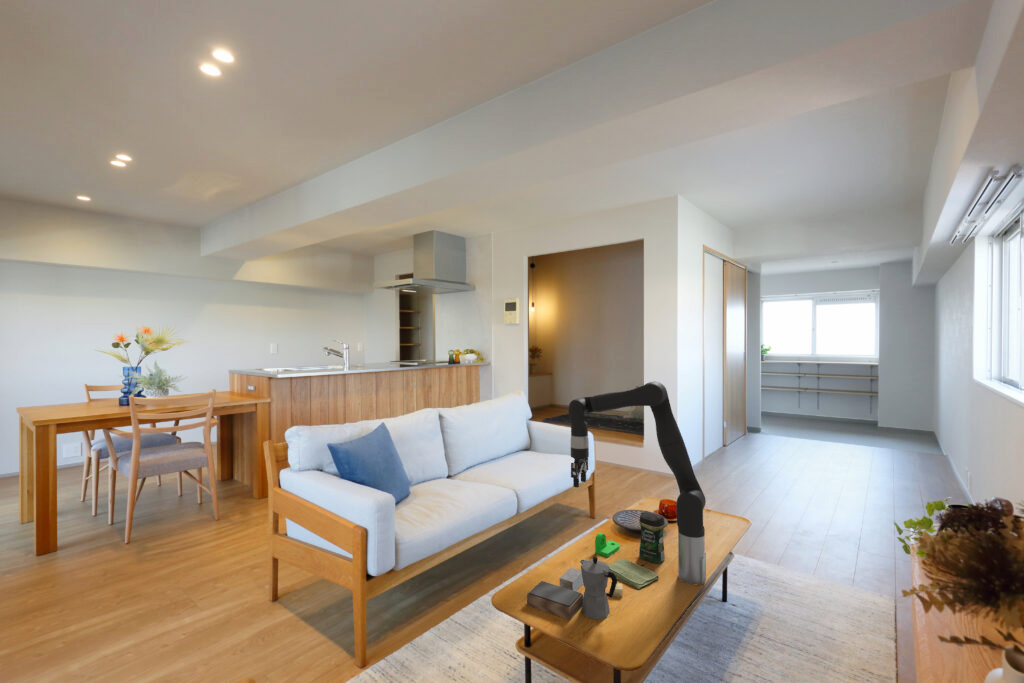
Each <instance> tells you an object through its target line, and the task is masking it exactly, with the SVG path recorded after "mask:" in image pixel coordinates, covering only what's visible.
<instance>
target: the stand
mask: <svg viewBox="0 0 1024 683" xmlns="http://www.w3.org/2000/svg"><path fill="white" fill-rule="evenodd" d="M583 596H584V593H582V592H579V591H573V590H570V589H566V588H563V587H560V585H555V584H553V583H550V582H546V581H543V580H541V581H540V582H538V583H537V584H536V585H535V586H534V587H533V588H531V589H530V591H529V592H527V594H526V605H527V606H529V607H531V608H534V609H537V610H540V611H543V612H545V613H549V614H551V613H552V614H551V615H554V616H557V617H559V616H560V618H562V617H563V618H562V619H566V620H569V621H571V620H572V619H573V618H574V617H575V615H576V614H577V613H578V611H580V610H581V608H582V602H583Z"/></svg>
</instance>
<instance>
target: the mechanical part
mask: <svg viewBox="0 0 1024 683" xmlns="http://www.w3.org/2000/svg"><path fill="white" fill-rule="evenodd" d="M594 544H595V545H594V548H595V549H594V550H595V551H594V553H595V554H597V555H600V556H602V557H606V558H609V557H611V556H612V555H613V554H615V553H617V552H618V551H619V550H620V549H621V546H620V543H619V542H616V541H614V540H611V539H610V540H608V541H607V536H606V534H604V533H602V532H598V533H597V534H596V536H595V541H594Z"/></svg>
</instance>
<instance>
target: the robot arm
mask: <svg viewBox="0 0 1024 683" xmlns="http://www.w3.org/2000/svg"><path fill="white" fill-rule="evenodd" d="M670 402H671V401H670V399H669V395H668V391H667V388H666V387H665V385H664V384H663V383H661V382H660V381H654V380H653V381H650V382H649V381H648V382H647V383H645V384H644V385H642V386H639V387H636V388H633V389H629V390H625V391H615V392H614V391H613V392H608V393H607V392H606V393H600V394H596V395H593V396H583V397H578V398H575V399H572V400H571V401H570V402H569V404H568V407H567V408H568V410H567V411H568V417H569V423H570V457H571V458H572V459H573V460H574V462H571V463H570V478H572V479H573V482H572V483H573V484H572V485H573V487H574V488H578V489H579V487H580V482H582V483H586V482H587V473H588V471H589V455H590V454H589V453H590V452H589V449H590V448H589V445H590V444H589V435H588V433H589V427H588V426H589V425H588V422H587V421H586V420H585V415H586V414H591V413H602V412H607V411H608V412H609V411H612V410H613V411H614V410H617V409H621V408H628V407H650V409H651V412H652V414H653V417H654V423H655V432H656V439H657V442H658V446H659V450H660V451H661V452H660V453H661V455H662V457H663V460H664V461H665V463H666V465H667V467H669V469H670V470H671V472H672V474H673V475H674V477H675V479H676V483H677V486H678V491H679V495H678V497H677V499H676V507H675V508H676V526H677V531H678V532H677V533H678V534H677V536H678V537H677V539H678V540H677V542H678V543H677V544H678V546H677V548H678V550H677V551H678V552H677V553H678V554H677V556H678V557H677V558H678V559H677V560H678V561H677V562H678V563H677V564H678V568H677V569H678V570H677V572H678V578H679V580H680V581H682V582H684V583H686V584H689V585H694V584H701V585H700V586H703V585H704V584H705V582H706V579H707V554H706V552H705V548H706V547H705V546H706V545H705V544H706V540H705V539H706V537H705V534H706V532H705V530H706V529H705V526H704V508H705V507H706V503H707V502H706V501H707V500H706V496H705V494H704V491H703V490H702V487H701V486H700V483H699V481H698V479H697V476H696V475H695V472H694V468H693V465H692V462H691V458H690V455H689V453H688V449H687V447H686V443H685V441H684V438H683V436H682V433H681V431H680V428H679V426H678V423H677V421H676V418H675V416H674V414H673V410H672V406H671V403H670Z"/></svg>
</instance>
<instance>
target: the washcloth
mask: <svg viewBox="0 0 1024 683" xmlns="http://www.w3.org/2000/svg"><path fill="white" fill-rule="evenodd" d="M607 565H608V566H609V567H610V568H609V571H610V572H612V573H614V574H615V576H616V578H617V580H619V581H622V582H623V583H625V584H627V585H629V586H632V587H633V588H636V589H637V590H640V589H642V588H643V587H644V586H645V587H646V585H649V584H651V583H654V581H655V580H657V579H659V575H658V573H656V572H655V571H653V570H651V569H649V568H648V567H644V566H641V565H640V564H636V563H634V562H633V561H630V560H628V559H627V558H620V559H617V560H616V561H614V562H613V563H609V564H607Z"/></svg>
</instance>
